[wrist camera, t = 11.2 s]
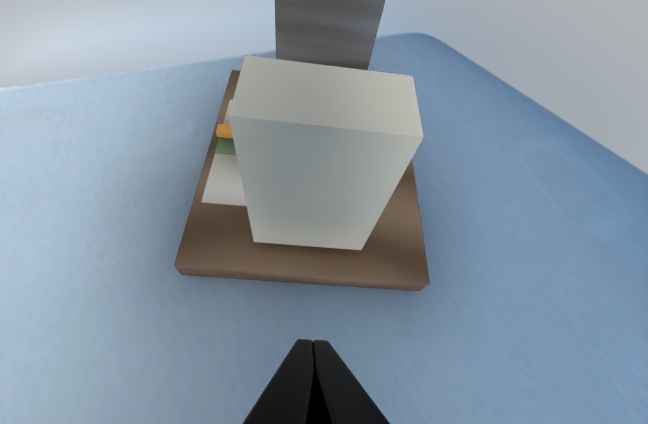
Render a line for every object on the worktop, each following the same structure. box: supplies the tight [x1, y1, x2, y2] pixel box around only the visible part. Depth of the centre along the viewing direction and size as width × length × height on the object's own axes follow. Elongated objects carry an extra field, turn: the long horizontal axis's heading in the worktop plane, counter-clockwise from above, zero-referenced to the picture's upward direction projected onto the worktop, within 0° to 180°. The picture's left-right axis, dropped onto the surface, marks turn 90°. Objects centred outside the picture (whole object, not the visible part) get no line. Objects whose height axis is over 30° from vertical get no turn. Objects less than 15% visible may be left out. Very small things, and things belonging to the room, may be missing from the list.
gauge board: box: [174, 0, 430, 291], centre depth 18 cm, size 16×14×10 cm
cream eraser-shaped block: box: [229, 55, 424, 250], centre depth 15 cm, size 7×6×9 cm
